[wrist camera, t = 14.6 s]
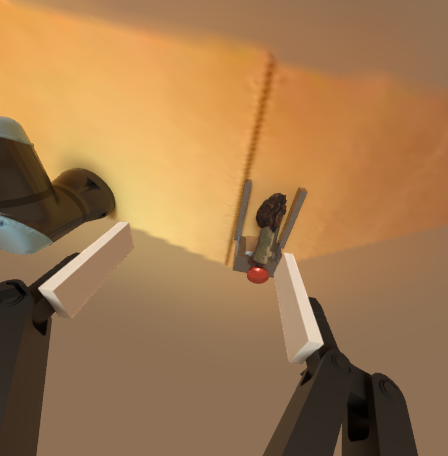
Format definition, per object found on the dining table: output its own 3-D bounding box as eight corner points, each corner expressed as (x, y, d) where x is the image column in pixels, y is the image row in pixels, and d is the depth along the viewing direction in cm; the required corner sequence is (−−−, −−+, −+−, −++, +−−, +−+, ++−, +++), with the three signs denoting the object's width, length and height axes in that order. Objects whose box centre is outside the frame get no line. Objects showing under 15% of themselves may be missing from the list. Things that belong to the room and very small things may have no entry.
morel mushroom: (269, 262, 45) (272, 267, 39) (245, 255, 46) (244, 259, 40) (287, 198, 44) (293, 193, 38) (262, 192, 45) (264, 187, 39)
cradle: (231, 249, 56) (228, 278, 46) (245, 178, 43) (244, 198, 33) (276, 257, 56) (282, 288, 45) (304, 188, 42) (322, 210, 32)
